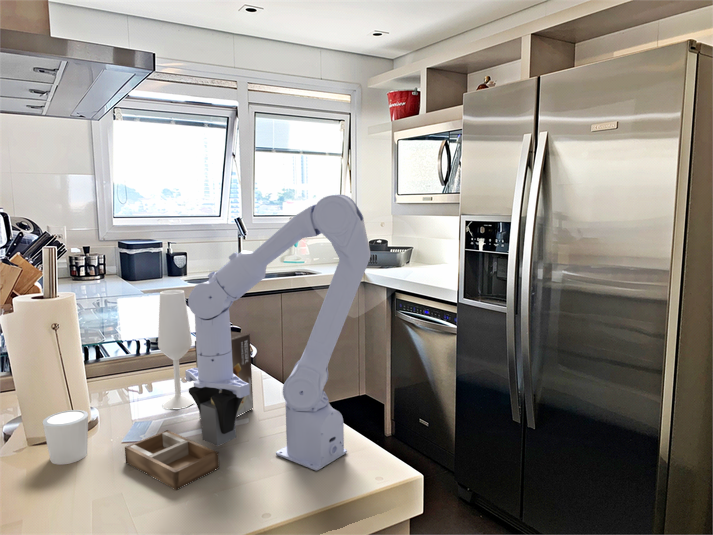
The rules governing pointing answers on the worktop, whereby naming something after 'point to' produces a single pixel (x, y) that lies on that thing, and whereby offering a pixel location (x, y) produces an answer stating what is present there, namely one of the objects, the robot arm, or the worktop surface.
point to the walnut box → (172, 458)
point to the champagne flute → (174, 338)
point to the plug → (213, 425)
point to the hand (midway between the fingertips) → (218, 428)
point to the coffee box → (240, 366)
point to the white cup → (66, 436)
